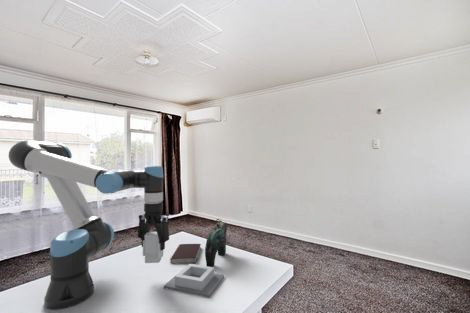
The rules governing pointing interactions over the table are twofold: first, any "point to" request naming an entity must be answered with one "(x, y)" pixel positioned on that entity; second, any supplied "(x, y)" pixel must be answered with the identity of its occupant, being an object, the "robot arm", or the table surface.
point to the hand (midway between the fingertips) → (153, 255)
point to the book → (186, 253)
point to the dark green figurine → (216, 243)
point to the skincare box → (151, 247)
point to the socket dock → (197, 292)
